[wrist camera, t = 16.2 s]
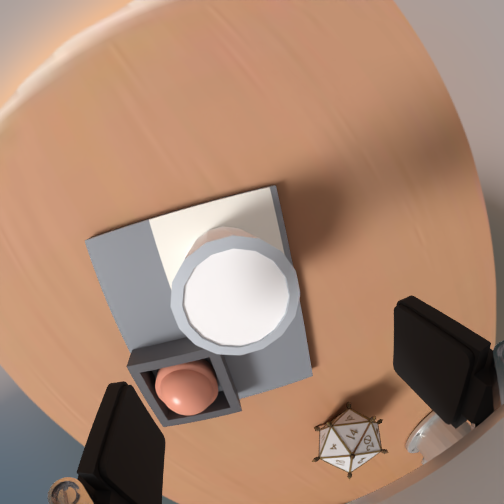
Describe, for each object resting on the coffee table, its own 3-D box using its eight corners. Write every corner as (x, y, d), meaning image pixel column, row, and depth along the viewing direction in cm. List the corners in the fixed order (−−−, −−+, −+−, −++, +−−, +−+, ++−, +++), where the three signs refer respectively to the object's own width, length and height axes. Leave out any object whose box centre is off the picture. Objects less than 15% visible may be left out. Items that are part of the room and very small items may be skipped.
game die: (314, 399, 33) (309, 424, 23) (379, 391, 31) (396, 413, 21) (315, 457, 30) (310, 494, 21) (377, 450, 28) (390, 485, 19)
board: (309, 370, 27) (321, 391, 23) (165, 408, 25) (164, 432, 22) (272, 185, 22) (285, 186, 18) (89, 238, 20) (71, 248, 17)
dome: (223, 388, 24) (228, 421, 20) (170, 399, 24) (168, 432, 19) (205, 344, 23) (208, 376, 19) (148, 357, 22) (141, 390, 18)
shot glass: (221, 197, 20) (231, 206, 13) (288, 258, 22) (325, 291, 15) (160, 269, 21) (143, 309, 14) (229, 322, 22) (242, 375, 16)
